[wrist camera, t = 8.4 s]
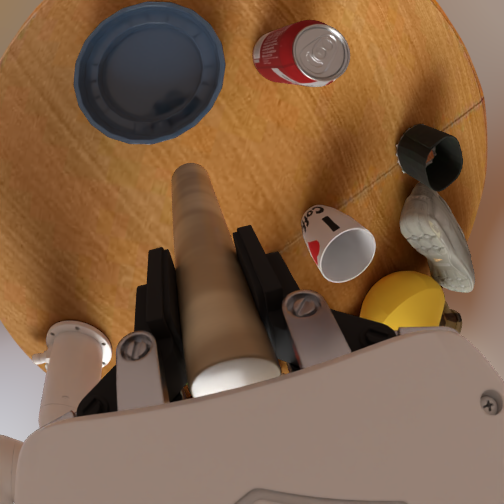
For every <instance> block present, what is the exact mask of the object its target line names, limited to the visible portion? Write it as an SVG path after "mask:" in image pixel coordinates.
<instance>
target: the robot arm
mask: <svg viewBox="0 0 504 504" xmlns="http://www.w3.org/2000/svg"><path fill="white" fill-rule="evenodd" d="M233 238H234V243H235V248H236V253H237V256H238V259H239V262H240V264H241V267H242V270H243V272H244V275H245V278H246V280H247V283H248V286H249V289H250V291H251V294H252V297H253V299H254V302H255V305H256V307H257V310H258V313H259V315H260V318H261V321H262V322H263V324H264V326H265V328H266V331H267V333H268V336H269V339H270V341H271V344H272V346H273V349H274V352H275V354H276V357H277V359H280V360H283V361H285V362H287V366H288V369H289V372H290V373H288V374H285V375H282V376H278V377H275V378H271V379H268V380H264V381H261V382H257V383H254V384H250V385H246V386H242V387H238V388H234V389H230V390H226V391H222V392H218V393H214V394H209V395H205V396H200V397H196V398H191V399H186V395H185V391H184V388H183V387H184V386H185V385H186V384H187V383H188V382H187V374H186V367H185V359H184V351H183V343H182V334H181V324H180V314H179V304H178V293H177V281H176V270H175V267H174V264H173V261H172V258H171V255H170V252H169V250H168V249H167V250H164V249H163V247H160V248H156V249H152V250H149V254H148V271H147V284H145V285H141V286H138V287H137V293H136V308H135V327H134V332H132V333H129V334H128V335H126V336H125V337H123V338H122V340H121V341H120V342H119V344H118V346H117V349H116V365H115V366H114V367H113V368H112V369H111V370H110V371H109V372H108V373H107V374H106V375H105V376H104V377H103V378H102V379H101V372H102V367H104V366H105V365H106V364H108V362H109V361H110V359H111V355H112V347H111V344H110V342H109V340H108V338H107V337H106V336H105V335H104V334H103V333H102V332H101V331H99V330H98V329H96V328H95V327H93V326H91V325H88V324H86V323H83V322H79V321H61V322H58V323H56V324H54V325H53V326H51V328H50V329H49V331H48V333H47V337H46V344H47V347H48V350H46V351H44V353H38V354H33V355H32V360H33V362H34V364H42V363H45V362H46V364H45V368H46V370H47V373H46V378H45V383H44V389H43V394H42V400H41V406H40V412H39V427H40V429H38V430H36V431H35V432H34V433H32V434H31V435H30V436H28V437H27V439H26V440H25V441H24V442H21V441H18V440H16V439H13V438H10V437H7V436H4V435H0V504H13V502H14V504H504V381H503V380H502V378H501V377H500V376H499V374H498V373H497V372H496V370H495V369H494V368H493V367H492V365H491V364H490V363H489V361H488V360H487V359H486V358H485V357H484V356H483V354H482V353H481V352H480V351H479V350H478V349H477V348H476V347H475V346H474V345H473V344H472V343H471V342H470V341H468V340H467V339H466V338H465V337H463V336H462V335H460V334H459V333H458V332H457V331H456V330H455V329H453V328H451V327H448V326H430V327H399V328H398V330H393V329H392V328H390V327H389V326H388V325H385V324H383V323H379V322H376V321H372V320H368V319H365V318H361V317H357V316H353V315H350V314H346V313H343V312H339V311H335V310H332V309H330V308H329V306H328V304H327V303H326V301H325V299H324V298H323V296H322V295H321V294H319V293H318V292H315V291H312V290H305V289H303V290H300V289H299V287H298V285H297V283H296V282H295V280H294V278H293V276H292V275H291V273H290V271H289V269H288V267H287V266H286V264H285V262H284V260H283V259H282V257H281V255H280V254H279V252H278V251H276V252H273V253H269V254H265V252H264V250H263V248H262V246H261V244H260V242H259V240H258V238H257V236H256V234H255V232H254V230H253V228H252V226H251V225H248V226H244V227H240V228H237V232H235V233H233Z"/></svg>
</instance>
